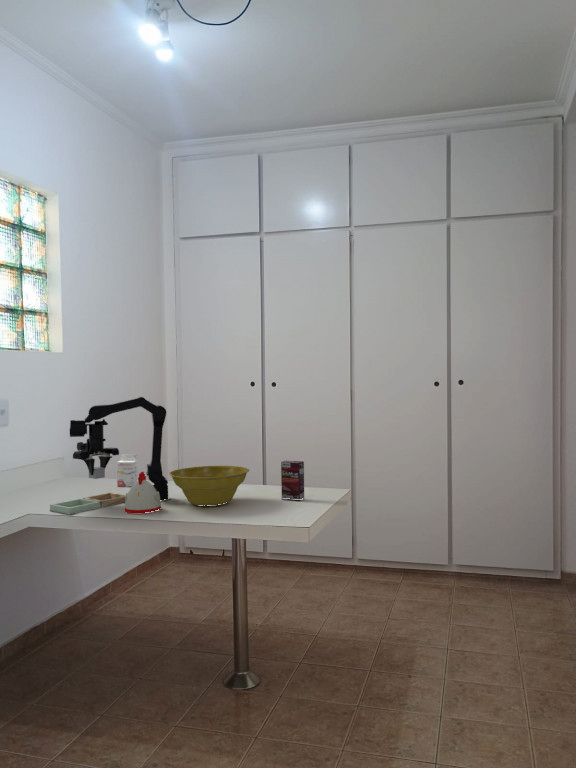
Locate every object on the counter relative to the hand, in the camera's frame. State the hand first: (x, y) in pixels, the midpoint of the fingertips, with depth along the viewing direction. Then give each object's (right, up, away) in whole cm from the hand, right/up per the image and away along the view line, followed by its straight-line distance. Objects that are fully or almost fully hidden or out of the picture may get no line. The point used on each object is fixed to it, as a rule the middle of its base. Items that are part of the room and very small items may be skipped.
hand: (96, 474), depth 270 cm
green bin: (-6, -13, -8) cm, 16 cm away
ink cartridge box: (+2, -12, +43) cm, 45 cm away
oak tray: (+3, -12, +4) cm, 13 cm away
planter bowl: (+47, -12, -2) cm, 48 cm away
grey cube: (0, -1, 0) cm, 1 cm away
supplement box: (+80, -11, +2) cm, 81 cm away
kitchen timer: (+21, -13, -12) cm, 28 cm away
